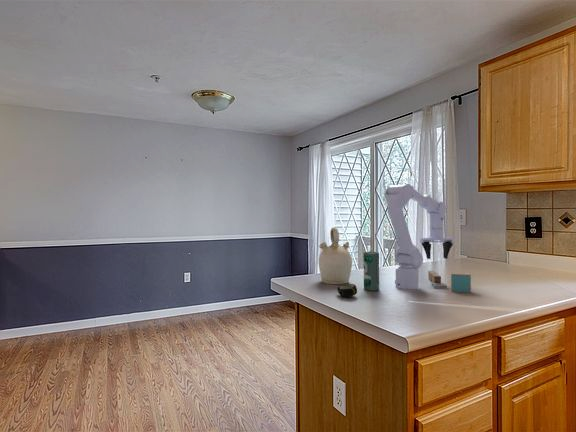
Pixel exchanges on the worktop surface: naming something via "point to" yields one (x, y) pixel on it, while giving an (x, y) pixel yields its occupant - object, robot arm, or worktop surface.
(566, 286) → the worktop surface
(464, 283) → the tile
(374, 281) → the can
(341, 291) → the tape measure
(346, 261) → the jug
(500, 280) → the worktop surface
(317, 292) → the worktop surface
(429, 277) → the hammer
